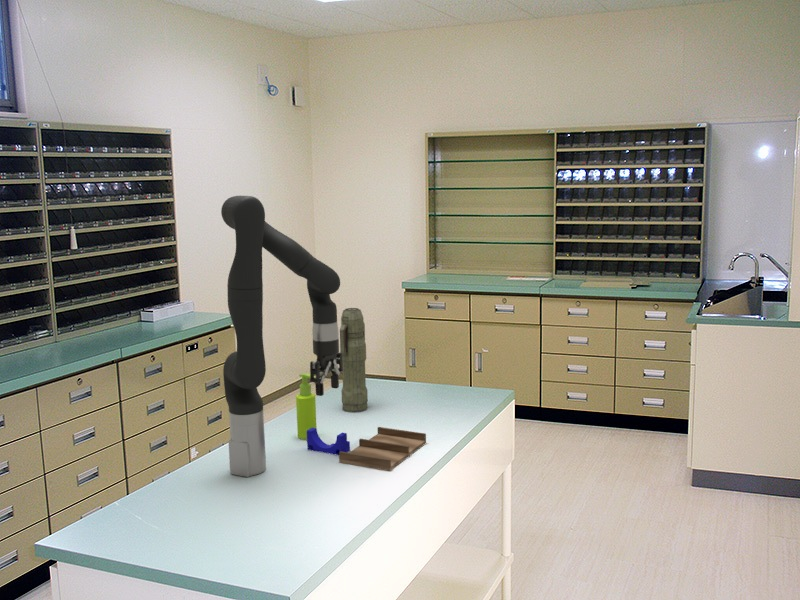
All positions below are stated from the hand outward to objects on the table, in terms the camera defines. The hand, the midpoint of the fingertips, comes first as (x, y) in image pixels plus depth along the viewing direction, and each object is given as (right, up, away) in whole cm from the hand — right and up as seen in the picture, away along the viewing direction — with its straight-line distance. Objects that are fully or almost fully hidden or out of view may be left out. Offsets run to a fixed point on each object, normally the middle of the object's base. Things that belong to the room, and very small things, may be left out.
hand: (327, 391), depth 229 cm
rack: (+16, -18, -1) cm, 24 cm away
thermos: (+6, -11, +42) cm, 44 cm away
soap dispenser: (-7, -16, +14) cm, 23 cm away
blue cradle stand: (0, -18, +2) cm, 18 cm away
